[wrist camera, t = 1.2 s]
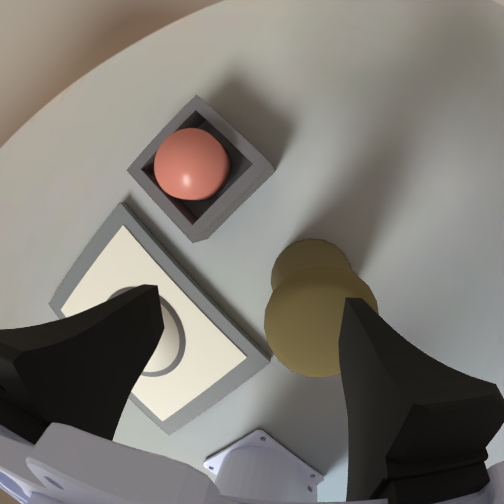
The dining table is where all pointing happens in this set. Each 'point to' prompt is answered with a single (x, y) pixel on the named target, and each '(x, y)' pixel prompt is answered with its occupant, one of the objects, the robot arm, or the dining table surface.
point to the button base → (229, 198)
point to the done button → (192, 165)
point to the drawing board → (175, 322)
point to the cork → (311, 306)
